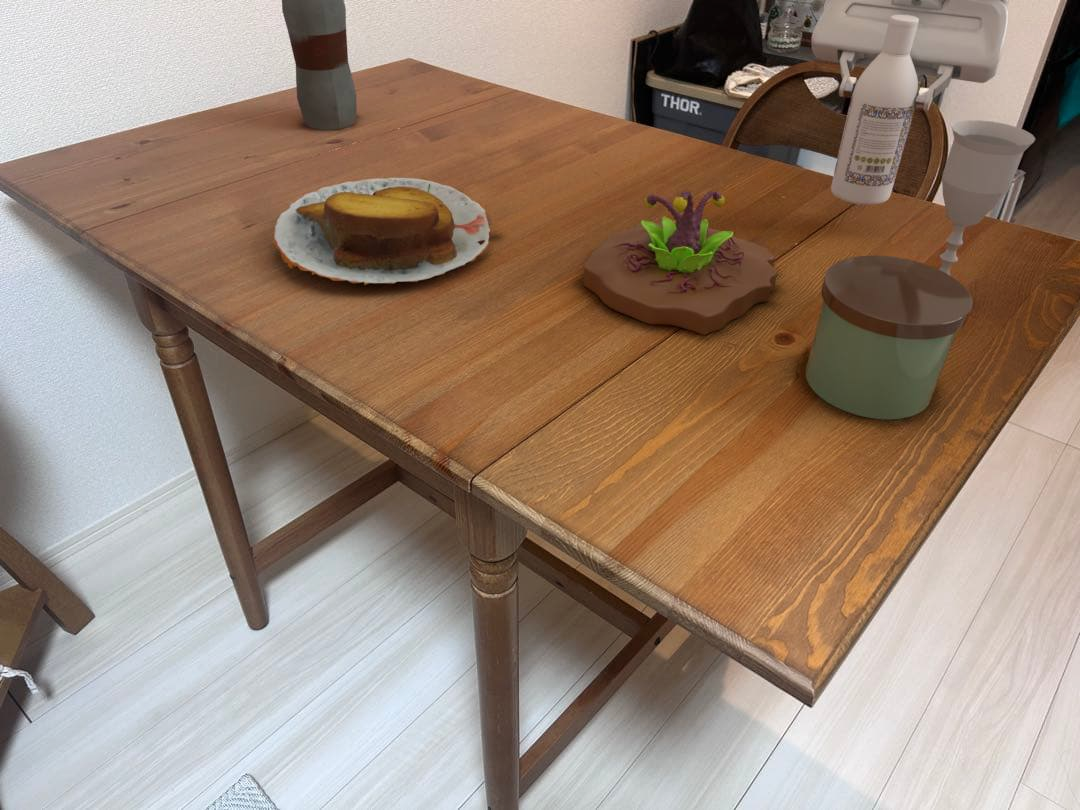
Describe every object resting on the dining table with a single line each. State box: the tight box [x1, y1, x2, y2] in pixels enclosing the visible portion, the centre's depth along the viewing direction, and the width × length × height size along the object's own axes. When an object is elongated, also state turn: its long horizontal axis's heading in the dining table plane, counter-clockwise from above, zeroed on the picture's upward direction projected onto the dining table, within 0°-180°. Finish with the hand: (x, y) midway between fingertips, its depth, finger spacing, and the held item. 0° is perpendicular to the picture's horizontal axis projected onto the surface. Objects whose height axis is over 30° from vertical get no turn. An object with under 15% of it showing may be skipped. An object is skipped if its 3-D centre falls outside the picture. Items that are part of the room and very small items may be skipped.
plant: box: [582, 190, 778, 336], centre depth 87 cm, size 20×20×11 cm
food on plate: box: [272, 176, 495, 286], centre depth 95 cm, size 25×25×7 cm
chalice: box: [938, 119, 1036, 276], centre depth 83 cm, size 7×7×18 cm
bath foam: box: [830, 15, 919, 206], centre depth 93 cm, size 7×7×20 cm
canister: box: [804, 255, 974, 421], centre depth 73 cm, size 12×12×10 cm
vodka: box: [281, 0, 358, 131], centre depth 121 cm, size 9×9×30 cm
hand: (882, 101), depth 92 cm, fingers closed on bath foam, 7 cm apart
